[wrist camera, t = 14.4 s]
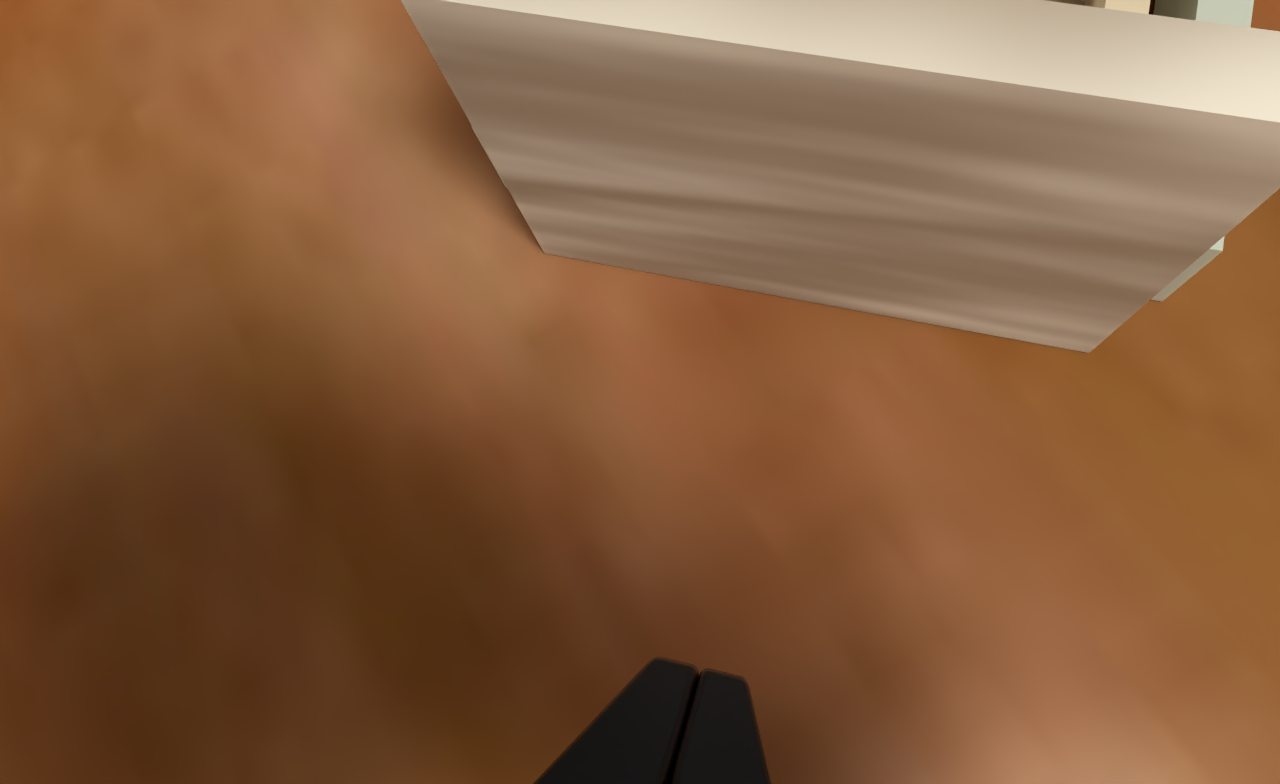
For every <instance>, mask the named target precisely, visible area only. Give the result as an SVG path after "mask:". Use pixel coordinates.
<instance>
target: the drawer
mask: <svg viewBox="0 0 1280 784" xmlns="http://www.w3.org/2000/svg"><path fill="white" fill-rule="evenodd" d="M401 2H402V4H403V5H404V7H405V9H406V11H407V12H408V14H409V16H410V18H411V19H412V21H413V23H414V25H415V26H416V28H417V30H418V32H419V33H420V35H421V37H422V39H423V41H424V42H425V44H426V46H427V48H428V49H429V51H430V53H431V55H432V56H433V58H434V60H435V62H436V63H437V65H438V67H439V69H440V70H441V72H442V74H443V76H444V77H445V79H446V81H447V83H448V85H449V86H450V88H451V90H452V92H453V93H454V95H455V97H456V99H457V100H458V102H459V104H460V106H461V107H462V109H463V111H464V113H465V114H466V116H467V118H468V120H469V121H470V123H471V125H472V127H473V129H474V130H475V132H476V134H477V136H478V137H479V139H480V141H481V143H482V144H483V146H484V148H485V150H486V151H487V153H488V155H489V157H490V158H491V160H492V162H493V164H494V166H495V167H496V169H497V171H498V173H499V174H500V176H501V178H502V180H503V181H504V183H505V185H506V187H507V188H508V190H509V192H510V194H511V195H512V197H513V199H514V201H515V202H516V204H517V206H518V208H519V210H520V211H521V213H522V215H523V217H524V218H525V220H526V222H527V224H528V225H529V227H530V229H531V231H532V232H533V234H534V236H535V238H536V239H537V241H538V243H539V245H540V246H541V248H542V250H543V252H544V253H545V254H551V255H556V256H562V257H567V258H573V259H578V260H583V261H589V262H594V263H600V264H605V265H611V266H616V267H622V268H627V269H633V270H638V271H644V272H649V273H654V274H660V275H665V276H671V277H676V278H682V279H687V280H693V281H698V282H704V283H709V284H715V285H720V286H726V287H731V288H736V289H742V290H747V291H753V292H758V293H764V294H769V295H775V296H780V297H786V298H791V299H797V300H802V301H808V302H813V303H818V304H824V305H829V306H835V307H840V308H846V309H851V310H857V311H862V312H868V313H873V314H879V315H884V316H889V317H895V318H900V319H906V320H911V321H917V322H922V323H928V324H933V325H939V326H944V327H950V328H955V329H961V330H966V331H971V332H977V333H982V334H988V335H993V336H999V337H1004V338H1010V339H1015V340H1021V341H1026V342H1032V343H1037V344H1043V345H1048V346H1053V347H1059V348H1064V349H1070V350H1075V351H1081V352H1086V353H1089V352H1091V351H1092V350H1093V349H1094V348H1095V347H1096V346H1097V345H1099V344H1100V343H1101V342H1102V341H1103V340H1104V339H1106V338H1107V337H1108V336H1109V335H1110V334H1111V333H1113V332H1114V331H1115V330H1116V329H1117V328H1118V327H1119V326H1121V325H1122V324H1123V323H1124V322H1125V321H1126V320H1128V319H1129V318H1130V317H1131V316H1132V315H1133V314H1135V313H1136V312H1137V311H1138V310H1139V309H1140V308H1141V307H1143V306H1144V305H1145V304H1146V303H1147V302H1148V301H1150V300H1151V299H1152V298H1153V297H1154V296H1155V295H1156V294H1158V293H1159V292H1160V291H1161V290H1162V289H1163V288H1165V287H1166V286H1167V285H1168V284H1169V283H1170V282H1172V281H1173V280H1174V279H1175V278H1176V277H1177V276H1178V275H1180V274H1181V273H1182V272H1183V271H1184V270H1185V269H1187V268H1188V267H1189V266H1190V265H1191V264H1192V263H1194V262H1195V261H1196V260H1197V259H1198V258H1199V257H1200V256H1202V255H1203V254H1204V253H1205V252H1206V251H1207V250H1209V249H1210V248H1211V247H1212V246H1213V245H1214V244H1216V243H1217V242H1218V241H1219V240H1220V239H1221V238H1222V237H1224V236H1225V235H1226V234H1227V233H1228V232H1229V231H1231V230H1232V229H1233V228H1234V227H1235V226H1236V225H1237V224H1239V223H1240V222H1241V221H1242V220H1243V219H1244V218H1246V217H1247V216H1248V215H1249V214H1250V213H1251V212H1253V211H1254V210H1255V209H1256V208H1257V207H1258V206H1259V205H1261V204H1262V203H1263V202H1264V201H1265V200H1266V199H1268V198H1269V197H1270V196H1271V195H1272V194H1273V193H1275V192H1276V191H1277V190H1278V189H1279V188H1280V32H1279V31H1271V30H1264V29H1256V28H1249V27H1241V26H1234V25H1226V24H1218V23H1211V22H1203V21H1196V20H1188V19H1181V18H1173V17H1166V16H1158V15H1151V14H1149V7H1150V0H401Z"/></svg>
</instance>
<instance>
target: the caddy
mask: <svg viewBox="0 0 1280 784" xmlns="http://www.w3.org/2000/svg"><path fill="white" fill-rule="evenodd" d="M1253 3H1254V0H1155V6H1154V13H1153V15H1158V16H1166V17H1173V18H1181V19H1188V20H1196V21H1203V22H1211V23H1218V24H1226V25H1234V26H1241V27H1249V28H1250V27H1251V19H1252V11H1253ZM471 127H472V126H471ZM472 129H473V127H472ZM473 131H474V133H475V134H476V132H475V130H474V129H473ZM476 136H477V134H476ZM477 138H478V140H479V141H480V139H479V137H478V136H477ZM480 143H481V141H480ZM481 145H482V147H483V148H484V146H483V144H482V143H481ZM484 150H485V148H484ZM485 152H486V154H487V155H488V153H487V151H486V150H485ZM488 157H489V155H488ZM489 159H490V161H491V162H492V160H491V158H490V157H489ZM492 164H493V162H492ZM493 166H494V164H493ZM494 168H495V169H496V167H495V166H494ZM496 171H497V169H496ZM497 173H498V171H497ZM498 175H499V176H500V174H499V173H498ZM500 178H501V176H500ZM501 180H502V178H501ZM502 182H503V183H504V181H503V180H502ZM504 185H505V183H504ZM505 187H506V185H505ZM506 188H507V187H506ZM1223 243H1224V237H1222V238H1221V239H1220V240H1219V241H1218V242H1217V243H1216V244H1214V245H1213V246H1212V247H1211V248H1210V249H1209V250H1207V251H1206V252H1205V253H1204V254H1203V255H1202V256H1200V257H1199V258H1198V259H1197V260H1196V261H1195V262H1194V263H1192V264H1191V265H1190V266H1189V267H1188V268H1187V269H1185V270H1184V271H1183V272H1182V273H1181V274H1180V275H1178V276H1177V277H1176V278H1175V279H1174V280H1173V281H1172V282H1170V283H1169V284H1168V285H1167V286H1166V287H1165V288H1163V289H1162V290H1161V291H1160V292H1159V293H1158V294H1156V295H1155V296H1154V297H1153V298H1152V299H1151V300H1157V301H1163V300H1164V299H1166V298H1167V297H1168V296H1169V295H1170V294H1172V293H1173V292H1174V291H1175V290H1176V289H1178V288H1179V287H1180V286H1181V285H1182V284H1184V283H1185V282H1186V281H1187V280H1188V279H1190V278H1191V277H1192V276H1193V275H1194V274H1196V273H1197V272H1198V271H1199V270H1200V269H1202V268H1203V267H1204V266H1205V265H1206V264H1207V263H1209V262H1210V261H1211V260H1212V259H1213V258H1215V257H1216V256H1217V255H1218V254H1219V253H1221V252H1222V251H1223Z"/></svg>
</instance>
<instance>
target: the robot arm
mask: <svg viewBox="0 0 1280 784" xmlns="http://www.w3.org/2000/svg"><path fill="white" fill-rule="evenodd" d="M533 784H772V781H771V777H770V773H769V768H768V764H767V760H766V756H765V751H764V747H763V743H762V739H761V734H760V730H759V726H758V722H757V718H756V713H755V709H754V705H753V701H752V696H751V692H750V688H749V685H748V683H747V681H746V680H745V679H744V678H743V677H741V676H738V675H734V674H730V673H726V672H721V671H717V670H713V669H704V670H702V671H701V672H700V674H699V671H698V669H697V668H696V667H695V666H694V665H692V664H689V663H684V662H680V661H676V660H672V659H668V658H664V657H656V658H653V659H652V660H651V661H649V662H648V663H647V664H646V665H645V666H644V667H643V668H642V669H641V671H640V672H639V673H638V674H637V675H636V676H635V677H634V678H633V679H632V680H631V681H630V682H629V683H628V684H627V685H626V686H625V687H624V688H623V689H622V691H621V692H620V693H619V694H618V695H617V696H616V697H615V698H614V699H613V700H612V701H611V702H610V703H609V704H608V705H607V706H606V707H605V708H604V709H603V711H602V712H601V713H600V714H599V715H598V716H597V717H596V718H595V719H594V720H593V721H592V722H591V723H590V724H589V725H588V726H587V727H586V728H585V729H584V731H583V732H582V733H581V734H580V735H579V736H578V737H577V738H576V739H575V740H574V741H573V742H572V743H571V744H570V745H569V746H568V747H567V748H566V749H565V751H564V752H563V753H562V754H561V755H560V756H559V757H558V758H557V759H556V760H555V761H554V762H553V763H552V764H551V765H550V766H549V767H548V768H547V769H546V771H545V772H544V773H543V774H542V775H541V776H540V777H539V778H538V779H537V780H536V781H535V782H534V783H533Z"/></svg>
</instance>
